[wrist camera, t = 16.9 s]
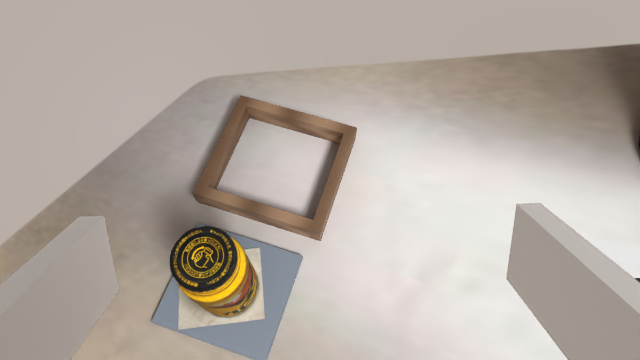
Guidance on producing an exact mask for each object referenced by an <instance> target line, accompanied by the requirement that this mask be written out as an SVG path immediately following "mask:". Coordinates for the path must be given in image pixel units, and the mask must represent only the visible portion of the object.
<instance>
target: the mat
mask: <svg viewBox="0 0 640 360" xmlns="http://www.w3.org/2000/svg"><path fill="white" fill-rule="evenodd" d="M203 226H209V225H206V224H203V223H200V222H198V223H197V226H196V228H197V227H203ZM210 227H212V226H210ZM223 231H224V230H223ZM224 232H226V233H227V234H228V235H229V236H230V237H232V238H234V239H235V240H236V241H238V242H239V243H240V245H241V246H242V247H243V249H244V250H245V249H252V248H260V256H261V269H262V283H263V298H264V313H265V319H260V320H252V321H244V322H236V323H229V324H220V325H212V326H203V327H196V328H188V329H180V330H178V318H179V286H178V283H177V281H176V280H175V278H174V276H173V277H172V279H171V281H170V283H169V285H168V287H167V289H166V291H165V294H164V296H163V298H162V300H161V302H160V304H159V306H158V308H157V311H156V313H155V315H154V317H153V319H152V321H151V322H152V323H154V324H157V325H160V326H163V327H166V328H168V329H171V330H174V331H177V332H179V333H182V334H185V335H188V336H190V337H193V338H196V339H199V340H202V341H204V342H207V343H210V344H213V345H215V346H218V347H221V348H224V349H226V350H229V351H232V352H235V353H238V354H240V355H243V356H246V357H249V358H251V359H254V360H267V358H268V355H269V352H270V349H271V346H272V343H273V341H274V338H275V335H276V332H277V329H278V326H279V324H280V321H281V318H282V315H283V312H284V309H285V307H286V304H287V301H288V298H289V295H290V292H291V290H292V287H293V284H294V281H295V278H296V275H297V273H298V270H299V267H300V264H301V261H302V259H303V256H302V255H299V254H295V253H292V252H289V251H286V250H283V249H280V248H277V247H274V246H271V245H268V244H265V243H261V242H258V241H255V240H252V239H249V238H246V237H243V236H240V235H237V234H234V233H231V232H227V231H224Z"/></svg>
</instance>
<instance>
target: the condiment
mask: <svg viewBox="0 0 640 360" xmlns="http://www.w3.org/2000/svg"><path fill="white" fill-rule="evenodd" d="M170 269H171V272H172V275H173V276H174V278H175V280H176V281H177V283H178V286H179V318H178V330H180V329H188V328H196V327H203V326H212V325H220V324H229V323H236V322H244V321H252V320H260V319H265V313H264V298H263V283H262V269H261V256H260V248H252V249H245V250H244V249H243V247H242V246H241V245H240V243H239V242H238V241H236V240H235V239H234V238H232V237H230V236H229V235H228V234H227V233H226V232H224V231H223V230H221V229H219V228H215V227H210V226H203V227H197V228H194V229H191V230H189V231H187V232H186V233H184V234H183V235H182V236H181V238H180V239H179V240H178V241H177V242H176V244H175V246H174V247H173V249H172V251H171V255H170Z"/></svg>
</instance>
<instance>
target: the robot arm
mask: <svg viewBox="0 0 640 360" xmlns="http://www.w3.org/2000/svg"><path fill="white" fill-rule="evenodd" d="M639 145H640V138H639ZM506 279H507V280H508V281H509V283H510V284H511V285H512V287H513V288H514V289H515V291H516V292H517V293H518V295H519V296H520V297H521V298H522V300H523V301H524V302H525V304H526V305H527V306H528V308H529V309H530V310H531V312H532V313H533V314H534V316H535V317H536V318H537V320H538V321H539V322H540V324H541V325H542V326H543V328H544V329H545V330H546V331H547V333H548V334H549V335H550V337H551V338H552V339H553V341H554V342H555V343H556V345H557V346H558V347H559V349H560V350H561V351H562V353H563V354H564V355H565V357H566V358H567V359H568V360H640V278H633V277H632V276H631V275H630V274H628V273H627V272H626V271H625V270H623V269H622V268H621V267H620V266H618V265H617V264H616V263H615V262H613V261H612V260H611V259H610V258H608V257H607V256H606V255H605V254H603V253H602V252H601V251H600V250H598V249H597V248H596V247H595V246H593V245H592V244H591V243H590V242H588V241H587V240H586V239H585V238H583V237H582V236H581V235H580V234H578V233H577V232H576V231H575V230H573V229H572V228H571V227H570V226H568V225H567V224H566V223H565V222H563V221H562V220H561V219H559V218H558V217H557V216H556V215H554V214H553V213H552V212H551V211H549V210H548V209H547V208H546V207H544V206H543V205H542V204H541V203H531V204H517V205H516V212H515V219H514V227H513V234H512V241H511V249H510V256H509V263H508V271H507V278H506ZM118 291H119V289H118V284H117V279H116V274H115V269H114V264H113V259H112V254H111V249H110V244H109V239H108V234H107V229H106V224H105V219H104V216H79V217H78V218H77V219H76V220H75V221H74V222H72V223H71V224H70V225H69V226H68V227H67V228H65V229H64V230H63V231H62V232H61V233H60V234H59V235H57V236H56V237H55V238H54V239H53V240H52V241H50V242H49V243H48V244H47V245H46V246H45V247H43V248H42V249H41V250H40V251H39V252H38V253H36V254H35V255H34V256H33V257H32V258H31V259H30V260H28V261H27V262H26V263H25V264H24V265H23V266H21V267H20V268H19V269H18V270H17V271H16V272H14V273H13V274H12V275H11V276H10V277H9V278H8V279H6V280H5V281H4V282H3V283H2V284H1V285H0V360H71V358H72V357H73V356H74V354H75V353H76V351H77V350H78V348H79V347H80V346H81V344H82V343H83V341H84V340H85V338H86V337H87V336H88V334H89V333H90V331H91V330H92V328H93V327H94V326H95V324H96V323H97V321H98V320H99V318H100V317H101V316H102V314H103V313H104V311H105V310H106V308H107V307H108V306H109V304H110V303H111V301H112V300H113V298H114V297H115V295H116V294H117V293H118Z"/></svg>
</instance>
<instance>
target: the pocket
mask: <svg viewBox="0 0 640 360" xmlns="http://www.w3.org/2000/svg"><path fill="white" fill-rule="evenodd" d="M249 118H252V119H256V120H259V121H263V122H266V123H270V124H273V125H277V126H280V127H284V128H287V129H291V130H294V131H298V132H301V133H305V134H308V135H312V136H315V137H319V138H322V139H326V140H329V141H333V142H336V143H340V146H339V148H338V151H337V154H336V157H335V160H334V162H333V165H332V168H331V171H330V174H329V177H328V179H327V182H326V185H325V188H324V191H323V193H322V196H321V199H320V202H319V205H318V207H317V210H316V213H315V216H314V219H313V220H312V219H309V218H306V217H303V216H300V215H296V214H293V213H290V212H287V211H284V210H280V209H277V208H274V207H271V206H267V205H264V204H261V203H258V202H255V201H251V200H248V199H245V198H242V197H239V196H235V195H232V194H229V193H226V192H222V191H219V190H216V188H217V185H218V183H219V181H220V179H221V177H222V175H223V173H224V171H225V168H226V166H227V164H228V162H229V160H230V158H231V156H232V153H233V151H234V149H235V147H236V145H237V143H238V141H239V139H240V136H241V134H242V132H243V130H244V128H245V126H246V124H247V121H248V119H249ZM356 130H357V128H356V127H352V126H349V125H345V124H342V123H338V122H334V121H331V120H327V119H324V118H320V117H317V116H313V115H309V114H306V113H302V112H299V111H295V110H291V109H288V108H284V107H281V106H277V105H273V104H270V103H266V102H263V101H259V100H256V99H252V98H248V97H245V96H240V98H239V100H238V102H237V104H236V106H235V108H234V110H233V112H232V114H231V116H230V118H229V120H228V122H227V124H226V126H225V128H224V130H223V133H222V135H221V137H220V139H219V141H218V143H217V145H216V147H215V149H214V151H213V153H212V155H211V157H210V159H209V161H208V163H207V165H206V167H205V169H204V171H203V173H202V175H201V177H200V179H199V181H198V184H197V186H196V188H195V190H194V192H193V195H194V196H195V198H196V199H197V201H198V202H199V203H202V204H205V205H208V206H212V207H215V208H218V209H221V210H224V211H227V212H231V213H234V214H237V215H240V216H243V217H246V218H249V219H253V220H256V221H259V222H262V223H265V224H268V225H272V226H275V227H278V228H281V229H284V230H287V231H290V232H294V233H297V234H300V235H303V236H306V237H309V238H313V239H316V240H319V241H321V238H322V235H323V232H324V229H325V226H326V223H327V220H328V217H329V214H330V211H331V209H332V206H333V203H334V200H335V197H336V194H337V191H338V188H339V185H340V182H341V179H342V176H343V173H344V170H345V168H346V165H347V162H348V159H349V156H350V153H351V150H352V147H353V144H354V141H355V137H356Z"/></svg>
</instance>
